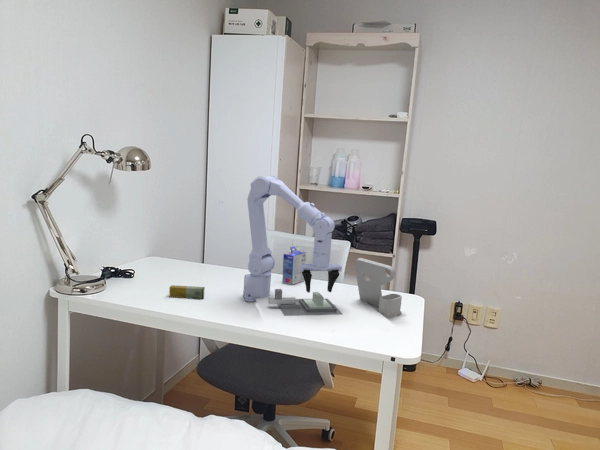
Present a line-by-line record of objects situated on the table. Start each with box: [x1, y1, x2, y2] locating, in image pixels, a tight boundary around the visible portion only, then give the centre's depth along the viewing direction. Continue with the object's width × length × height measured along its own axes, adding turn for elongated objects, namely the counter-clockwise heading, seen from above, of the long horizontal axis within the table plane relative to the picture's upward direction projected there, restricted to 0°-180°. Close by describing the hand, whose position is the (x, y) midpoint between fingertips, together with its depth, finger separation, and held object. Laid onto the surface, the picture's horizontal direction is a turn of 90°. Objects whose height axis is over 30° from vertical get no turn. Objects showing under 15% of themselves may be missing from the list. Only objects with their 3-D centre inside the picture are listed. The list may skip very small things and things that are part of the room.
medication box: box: [168, 284, 205, 300], centre depth 163 cm, size 12×3×4 cm, turn 91°
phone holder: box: [354, 257, 403, 319], centre depth 164 cm, size 17×10×18 cm, turn 44°
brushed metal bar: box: [268, 288, 297, 305], centre depth 155 cm, size 9×2×4 cm, turn 105°
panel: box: [276, 298, 343, 317], centre depth 158 cm, size 20×16×3 cm
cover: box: [302, 291, 332, 309], centre depth 158 cm, size 8×8×4 cm
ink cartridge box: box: [282, 246, 307, 286], centre depth 191 cm, size 10×6×14 cm, turn 148°
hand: (318, 291), depth 158 cm, fingers open, 7 cm apart
